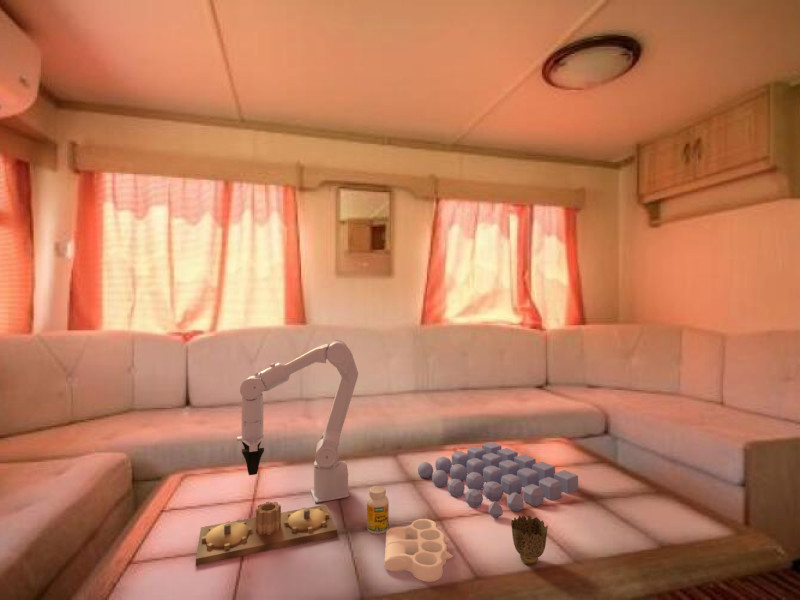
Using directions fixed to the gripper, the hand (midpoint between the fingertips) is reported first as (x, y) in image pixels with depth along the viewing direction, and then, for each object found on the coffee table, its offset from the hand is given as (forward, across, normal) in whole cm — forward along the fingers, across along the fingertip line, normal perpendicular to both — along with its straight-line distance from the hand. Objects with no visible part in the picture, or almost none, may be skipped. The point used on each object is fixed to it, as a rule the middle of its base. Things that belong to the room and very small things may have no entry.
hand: (252, 469), depth 114 cm
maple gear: (+7, +19, +3) cm, 21 cm away
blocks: (+10, +15, +69) cm, 71 cm away
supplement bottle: (+9, +26, +28) cm, 39 cm away
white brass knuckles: (+10, +39, +33) cm, 52 cm away
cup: (+9, +50, +54) cm, 74 cm away
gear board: (+9, +19, +3) cm, 21 cm away
